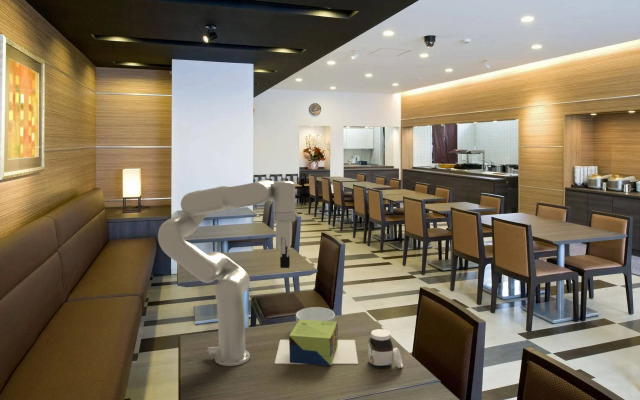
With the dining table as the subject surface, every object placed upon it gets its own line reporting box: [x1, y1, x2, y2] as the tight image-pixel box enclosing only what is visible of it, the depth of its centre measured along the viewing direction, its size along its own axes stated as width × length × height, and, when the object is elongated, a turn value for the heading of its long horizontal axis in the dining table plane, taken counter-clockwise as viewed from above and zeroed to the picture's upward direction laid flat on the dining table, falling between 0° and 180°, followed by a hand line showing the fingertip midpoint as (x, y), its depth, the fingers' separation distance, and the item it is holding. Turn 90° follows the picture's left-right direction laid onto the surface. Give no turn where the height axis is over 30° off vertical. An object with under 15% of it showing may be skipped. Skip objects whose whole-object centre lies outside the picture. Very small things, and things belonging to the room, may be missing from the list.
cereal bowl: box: [295, 306, 336, 324], centre depth 195 cm, size 17×17×7 cm
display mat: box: [274, 339, 359, 365], centre depth 175 cm, size 30×20×1 cm, turn 89°
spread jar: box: [367, 328, 404, 369], centre depth 164 cm, size 12×11×12 cm
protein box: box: [288, 320, 339, 367], centre depth 171 cm, size 10×15×16 cm
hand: (285, 267), depth 163 cm, fingers closed
